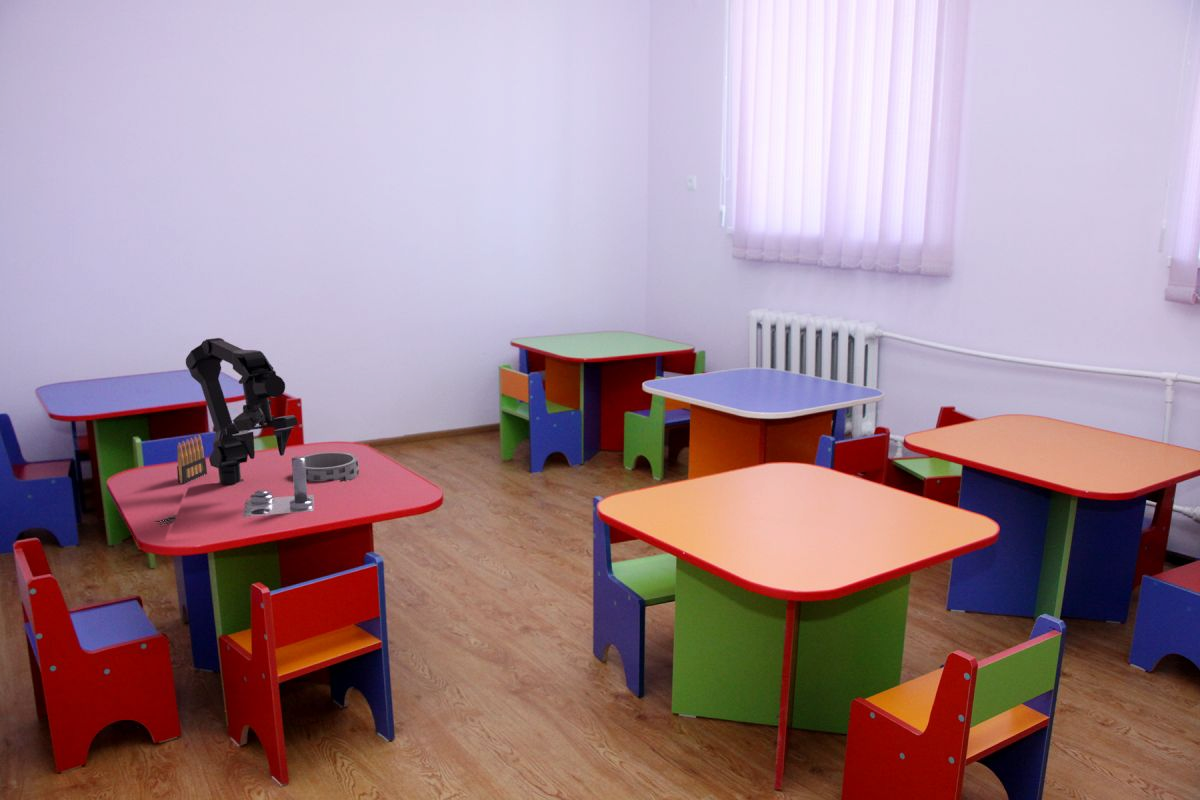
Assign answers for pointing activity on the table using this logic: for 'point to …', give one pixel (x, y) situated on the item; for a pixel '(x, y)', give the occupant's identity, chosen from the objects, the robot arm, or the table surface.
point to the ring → (331, 466)
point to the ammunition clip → (191, 460)
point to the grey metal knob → (261, 497)
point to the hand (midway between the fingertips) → (267, 457)
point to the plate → (273, 507)
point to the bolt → (300, 485)
